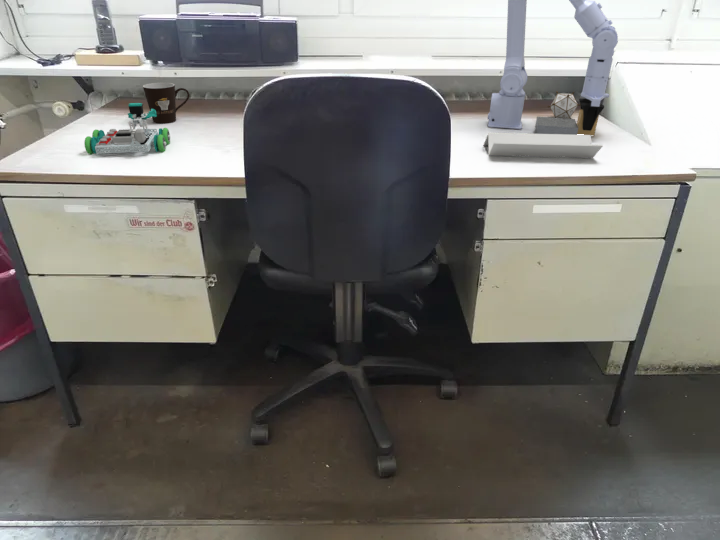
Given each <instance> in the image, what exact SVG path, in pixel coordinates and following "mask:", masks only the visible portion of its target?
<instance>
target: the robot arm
mask: <svg viewBox="0 0 720 540" xmlns="http://www.w3.org/2000/svg"><path fill="white" fill-rule="evenodd" d="M568 1H569V2H570V3H571V5H572V6H573V7H574V9H575V12H574V16H573V18H574V19H575V21H576V23H577V24H578V25H579V27H580V28H581V30H582V31H583V32H584V34H585V35H586V36H587V38H590V39H592V40H591V41H592V42H591V43H592V44H591V45H592V50H591V54H590V55H589V56H590V57H589V58H588V63H587V68H586V73H585V78H584V82H583V86H582V91H581V93H580V97H582V98H578V101H579V104H580V106H579V107H580V109H581V110H583V130H589V131H591V130H592V128H593V126H594V123H595V121H596V119H597V117H598V115H599V116H600V113H601V112H602V111H603V110H604V108H605V105H604V104H601V103H602V100H603V99H605V98H610V94H609V93H606V90H607V86H608V81H609V77H610V73H611V69H612V64H613V61H614V59H613V56H614V54H615V48H616V46H617V45H618V43H619V40H618V39H619V38H618V37H619V36H618V31H617V30H616V28H615V26H613V25H612V24H613V21H612V20H611V19H608V18H607V16H606V15H605V14H604V12H603V11H602V8H603V5H602V4H601V3H600V2H598V3H597V2H596V0H568ZM527 3H528V2H527V0H507V19H506V20H507V23H506V47H505V48H506V50H505V62H504V66H503V74H502V76H501V79H500V83H499V87H500V90H499V92H492V93H491V100H490V107H489V112H488V113H487V120H488V123H487V127H488V128H499V129H500V128H502V129H513V130H514V129H515V130H522V129H523V124H522V123H523V122H522V115H523V111H524V103H525V98H526V92H525V90H524V86H526V84H527V82H528V73H527V71H526V68H525V66H526V65H525V64H526V63H525V44H526V43H525V42H526V41H525V40H526V26H527V25H526V24H527V23H526V21H527ZM598 118H599V117H598Z"/></svg>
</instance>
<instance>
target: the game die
mask: <svg viewBox="0 0 720 540" xmlns="http://www.w3.org/2000/svg"><path fill="white" fill-rule="evenodd" d="M555 92H556V95H555V97H554V99H553V101H552V102H551V104H550V105H548V106H547V108H550V110H551V112H552V114H553V116H554V117H553V118H567V119H572V115H573V114H574V112H575V111H576V110H577V108H578V107H580V103H579V104H578V102H577V100H576V98H575V96H574V94H575V91H573V92H571V93H560V92H559V91H558V90H556V91H555Z"/></svg>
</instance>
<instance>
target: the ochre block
mask: <svg viewBox="0 0 720 540" xmlns="http://www.w3.org/2000/svg"><path fill="white" fill-rule="evenodd" d="M599 117H600V114H599V115H598V117H597V119H596V121H595V123H594V126H593V128H592V130H591V131H589V130H583V110H581V108H580V109H579V111H578V116H577V121H576V123H577V126H578V133H577V134H584V135H594V136H595V134H596V130H597V125H598V122H599Z"/></svg>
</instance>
